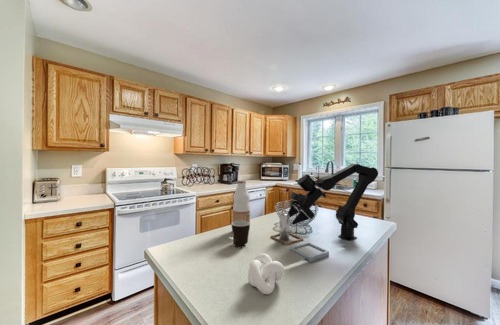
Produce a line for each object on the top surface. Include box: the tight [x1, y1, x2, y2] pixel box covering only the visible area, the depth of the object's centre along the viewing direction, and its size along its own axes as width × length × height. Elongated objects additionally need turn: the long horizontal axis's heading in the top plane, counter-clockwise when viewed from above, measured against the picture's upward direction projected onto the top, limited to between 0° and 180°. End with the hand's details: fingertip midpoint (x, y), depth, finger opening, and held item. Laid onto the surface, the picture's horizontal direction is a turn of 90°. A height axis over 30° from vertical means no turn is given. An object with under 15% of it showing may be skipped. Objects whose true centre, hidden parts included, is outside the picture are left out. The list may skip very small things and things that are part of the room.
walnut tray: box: [270, 232, 304, 246], centre depth 106 cm, size 11×11×2 cm
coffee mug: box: [230, 221, 251, 248], centre depth 104 cm, size 12×9×10 cm
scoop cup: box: [278, 212, 291, 241], centre depth 106 cm, size 5×5×12 cm
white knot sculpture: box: [247, 253, 285, 295], centre depth 69 cm, size 11×12×9 cm
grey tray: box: [289, 241, 330, 264], centre depth 92 cm, size 11×11×2 cm
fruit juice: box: [232, 179, 251, 231], centre depth 119 cm, size 9×9×28 cm
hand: (289, 220), depth 106 cm, fingers open, 9 cm apart
